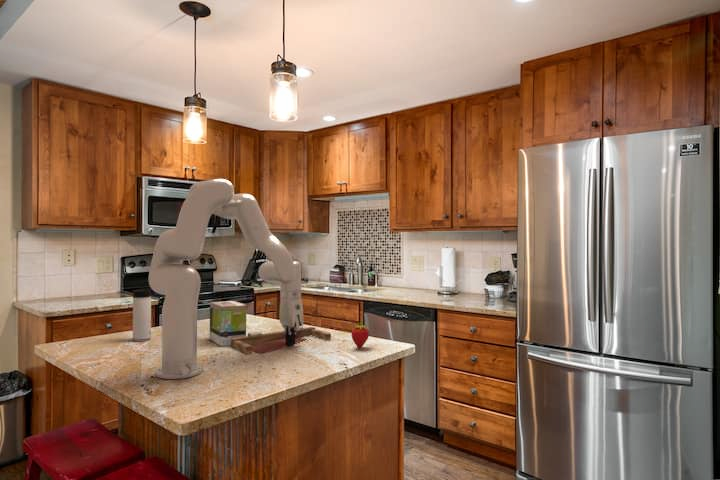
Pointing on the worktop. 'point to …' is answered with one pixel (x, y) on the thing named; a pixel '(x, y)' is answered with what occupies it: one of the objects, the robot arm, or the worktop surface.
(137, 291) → the travel mug
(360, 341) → the strawberry
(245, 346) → the hinge frame
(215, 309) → the tea box
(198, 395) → the worktop surface
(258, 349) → the wooden tablet
